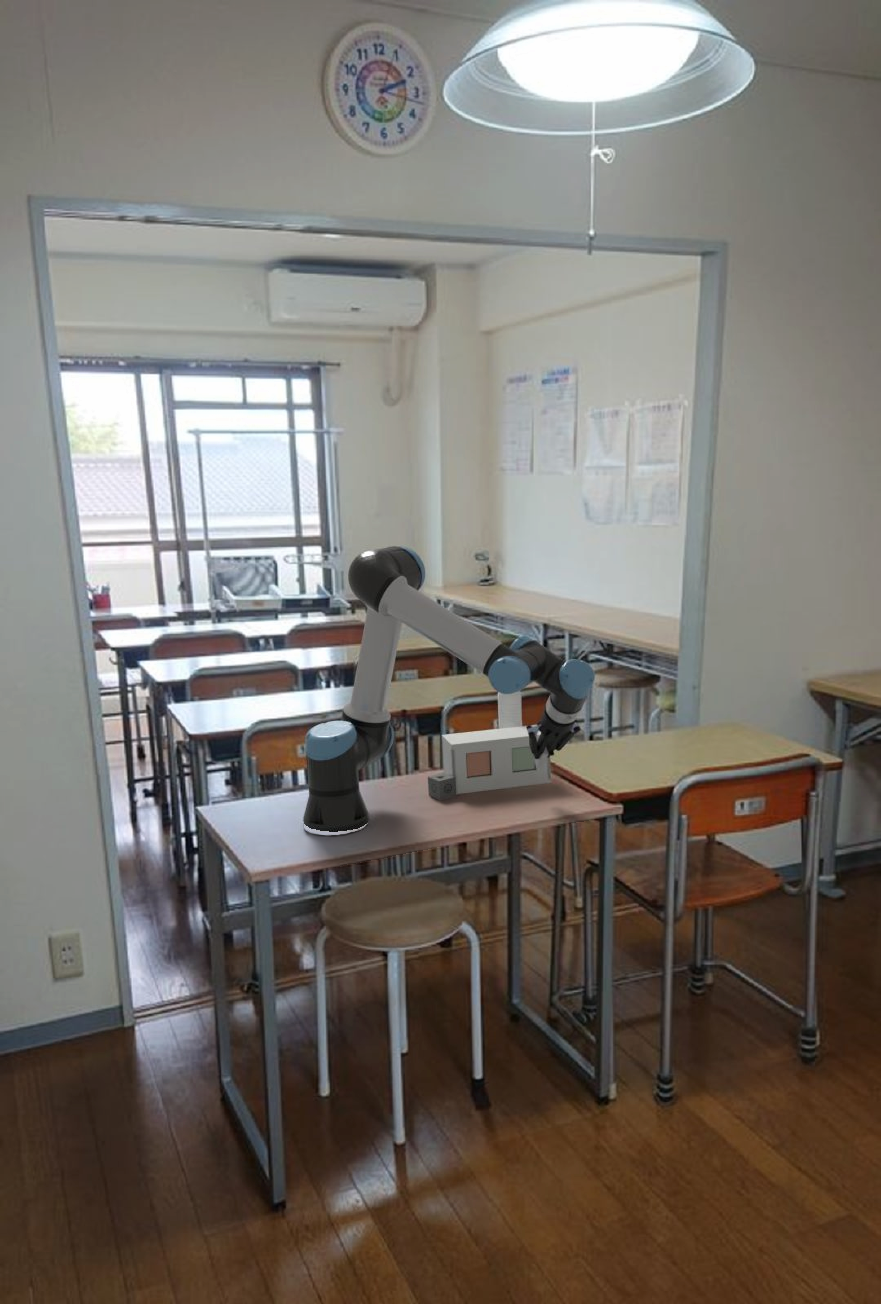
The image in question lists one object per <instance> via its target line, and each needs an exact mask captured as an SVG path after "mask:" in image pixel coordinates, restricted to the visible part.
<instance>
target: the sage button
mask: <svg viewBox="0 0 881 1304" xmlns="http://www.w3.org/2000/svg"><path fill="white" fill-rule="evenodd" d="M528 769H535V761H534V754H532V752H531V749H530V746H528V747H519V748H512V771H520V770H528Z"/></svg>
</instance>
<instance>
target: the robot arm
mask: <svg viewBox="0 0 881 1304" xmlns="http://www.w3.org/2000/svg"><path fill="white" fill-rule="evenodd" d="M347 573H348V574H347V576H348V577H347V578H348V579H347V581H348V585H349V587H350V589H351V591H352V594H354V596H355V597H356V598H357V599H358V600H359V601H360V602H362V603H363V604H364V605H365V606H366V608H367V609H366V615H365V620H364V627H363V632H362V639H361V642H360V643H361V644H360V647H359V648H360V650H359V654H358V660H357V661H358V662H357V665H356V666H357V667H356V672H355V677H354V683H353V688H352V694H351V700H350V702H349V703H347V704H346V705H344V706H343V709H342V715H341V719H340V720H331V721H326V722H321V723H319V724H317V725H315V726H313V727H311V728H310V729H309V730H308V731H307V733H306V734H305V738H304V739H305V741H304V742H305V745H304V752H305V758H306V759H305V760H306V772H307V773H306V774H307V784H308V797H307V801H306V806H305V809H304V812H303V813H304V814H303V818H302V822H304V823H303V825H304V824H305V825H306V826H308V827H309V828H311V829H316V830H320V831H329V832H338V831H347V830H353V829H358V828H360V827H362V826H364V825H365V824H367V823H368V821H369V822H370V817H369V816H370V815H369V811H368V808H367V806H366V804H365V803H366V802H365V801H364V799H363V798H364V797H363V795H362V794H361V791H360V790H361V789H360V780H359V779H360V778H359V777H360V775H359V771H360V770H362V769H364V768H365V767H368V766H370V765H371V764H373V763H376V762H378V761H379V760H381V759H382V758H384V757H385V755H386V754H387V753H388V752H389V751H390V749H391V748H392V745H393V743H394V740H395V732H394V731H395V730H394V727H393V726H392V725H391V723H392V722H391V718H392V717H391V713H390V711H389V710H388V709H387V705H388V700H389V694H390V689H391V683H392V678H393V673H394V668H395V663H396V657H397V652H398V646H399V640H400V637H401V636H400V635H401V632H402V631H401V630H402V624H404V625H406V626H407V627H408V628H410V629H412V630H414V631H415V632H417V633H419V635H421V636H422V637H424V638H426V639H427V640H429V641H431V642H432V643H433V644H436V645H437V646H439V647H440V648H442V649H444V650H445V651H446V652H448V653H449V654H451V655H453V656H454V657H456V658H458V659H459V660H460V661H463V663H465V664H466V665H468V666H469V667H471V668H473V669H475V670H477V671H478V672H480V673H481V674H483V675H484V676H486V677H487V678H488V681H489V683H490V685H491V687H492V688H493V690H495V691H496V692H497V693H498V692H500V693H502V694H512V693H515V692H518V691H520V692H521V691H523V690H524V689H525V688H527V686H529V685H531V684H532V683H535V684H537V685H538V686H540V687H541V688H543V689H545V690H546V691H547V692H549V693H550V694H549V697H548V699H547V701H546V703H545V706H544V708H543V710H542V713H541V719H540V720H539V721H537V723H536V725H537V726H535V727H532V726H531V725H530V724H529V725H526V726H527V727H526V728H527V732H528V735H529V745H530V749H531V752H532V754H534V761H535V765H536V768H541V767H543V765H544V763H545V760H546V758H549V757H550V758H551V756H554V755H555V750H556V751H558V752H559V751H561V750H563V748H564V747H565V746H566V745H567V743H569V741H570V740H571V739H572V738H573V737H574V736H575V735H576V734H577V733H579V732H581V730H582V729H581V726H580V723H579V720H578V717H579V714H580V712H581V711H582V708H583V707H584V705H585V704H586V701H587V699H588V697H589V695H590V693H591V692H592V688H593V684H594V682H595V677H596V675H595V672H594V669H593V667H592V666H591V665H590V664H589V663H587V662H586V661H585V660H581V659H576V658H573V659H568V660H567V661H566V660H565V659H563V658H561V657H560V656H559V655H557V654H555V653H554V652H552V650H550V649H548V648H547V647H545V646H544V645H543V644H541V643H540V642H539V641H538V640H536V639H533V638H531V637H529V636H528V635H526V634H522V635H519V636H518V637H517V638H516V639H515V640H514V641H513V642H512V643H511V645H510V646H509V647H508V645H505V644H504V643H502V642H501V641H500V640H498V639H496V638H495V637H493V636H491V635H489V634H488V633H486V632H485V631H484V630H481V629H480V628H478V627H477V626H475V625H474V624H473V623H470V622H469V621H468V620H465V619H464V618H463V617H461V616H459V615H458V614H456V613H454V612H453V611H451V610H450V609H448V608H446V607H445V606H443V605H441V604H440V603H439V602H436V601H435V600H433V599H432V598H430V597H428V595H425V594H424V593H422V592H421V591H419V590H420V589H421V588H422V587H423V585H424V583H425V580H426V568H425V565H424V562H423V560H422V559H421V557H420V555H419V554H418V553H417V552H416V551H414V550H413V549H412V548H409V547H407V546H406V547H405V546H402V545H401V546H399V545H398V546H396V545H391V546H387V547H382V548H377V549H376V548H375V549H368V550H365V551H363V552H361V553H359V554H358V555H357V556H355V558H354V559H353V560H352V561H351V563H350V566H349V569H348V572H347ZM538 731H540V732H541V734H540V736H539V739H538V741H537V738H536V736H537V733H538Z"/></svg>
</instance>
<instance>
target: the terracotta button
mask: <svg viewBox="0 0 881 1304" xmlns="http://www.w3.org/2000/svg"><path fill="white" fill-rule="evenodd" d="M466 764H467V777H469V776H478V775H486V774H490V753H489V751H483V752H475V753H466Z"/></svg>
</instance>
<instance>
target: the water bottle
mask: <svg viewBox="0 0 881 1304" xmlns="http://www.w3.org/2000/svg"><path fill="white" fill-rule="evenodd" d="M497 704H498V705H497V710H498V713H497V714H498V729H502V728H511V727H520V726H523V720H522V719H523V717H522V716H523V714H522V712H523V711H522V692H521V691H518V692H515V693H512V694H502V693H500V692H498V691H497Z"/></svg>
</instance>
